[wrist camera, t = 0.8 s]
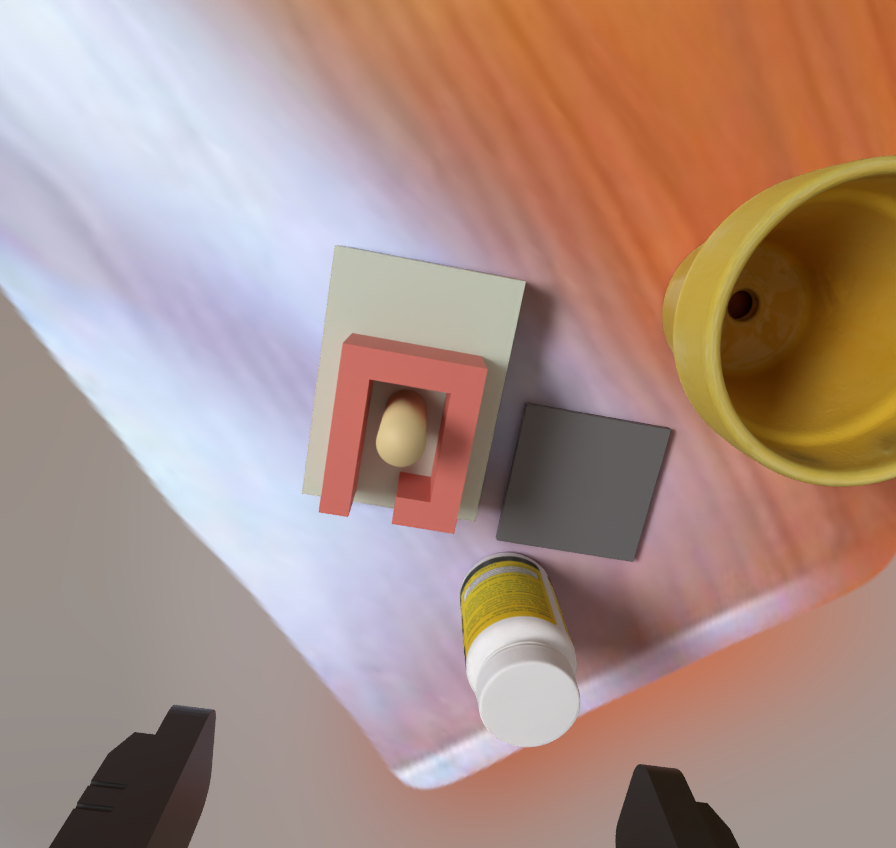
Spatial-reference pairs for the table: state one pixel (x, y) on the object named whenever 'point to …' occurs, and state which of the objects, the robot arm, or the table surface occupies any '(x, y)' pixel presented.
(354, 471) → the c link
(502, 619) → the supplement bottle
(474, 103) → the table surface
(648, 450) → the coaster
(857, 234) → the plant pot
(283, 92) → the table surface
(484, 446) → the stand
